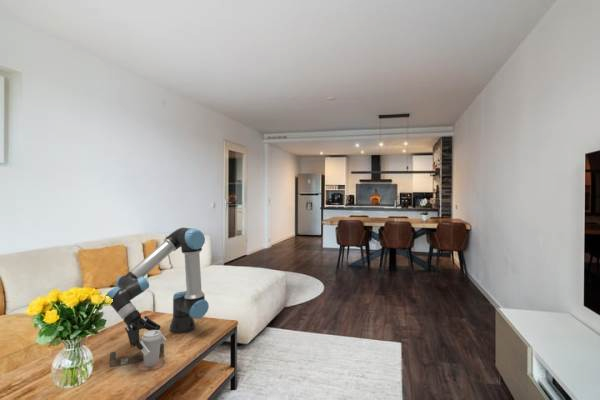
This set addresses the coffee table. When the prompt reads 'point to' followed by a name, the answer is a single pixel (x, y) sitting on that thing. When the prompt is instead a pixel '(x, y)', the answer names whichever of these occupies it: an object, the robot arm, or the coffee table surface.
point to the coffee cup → (152, 347)
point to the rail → (135, 358)
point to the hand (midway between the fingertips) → (156, 347)
